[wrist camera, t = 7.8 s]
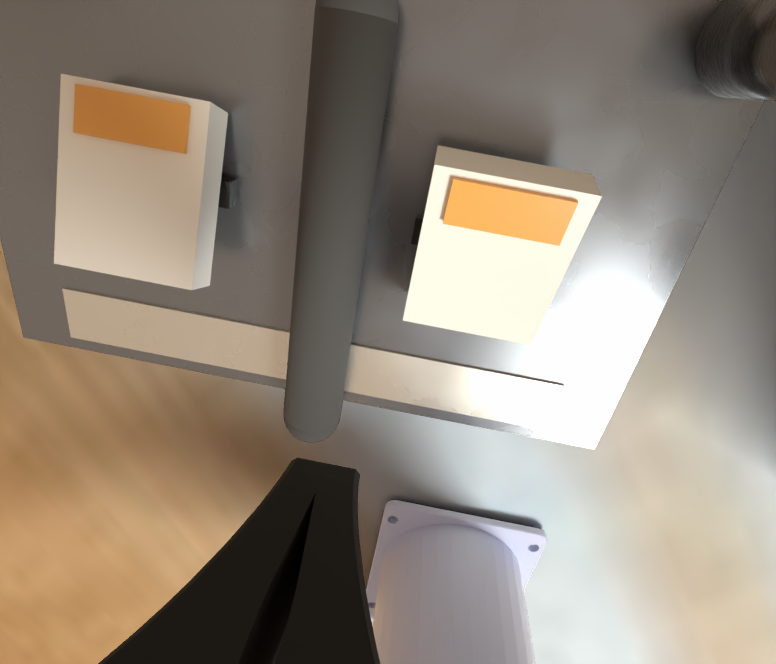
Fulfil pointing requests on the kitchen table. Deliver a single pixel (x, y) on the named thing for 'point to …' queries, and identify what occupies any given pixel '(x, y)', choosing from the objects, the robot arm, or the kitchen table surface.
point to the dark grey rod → (335, 202)
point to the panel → (399, 183)
